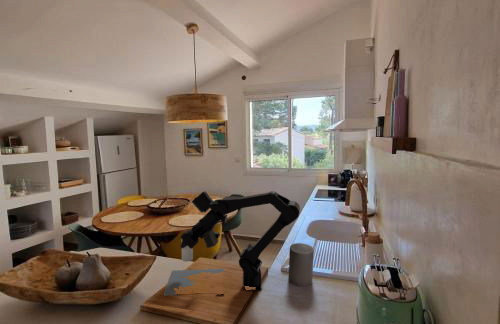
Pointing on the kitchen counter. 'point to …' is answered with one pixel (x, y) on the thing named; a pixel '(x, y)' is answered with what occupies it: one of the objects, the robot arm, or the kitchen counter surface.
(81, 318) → the kitchen counter surface
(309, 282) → the pillar candle
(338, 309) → the kitchen counter surface
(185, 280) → the desk mat
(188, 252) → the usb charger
